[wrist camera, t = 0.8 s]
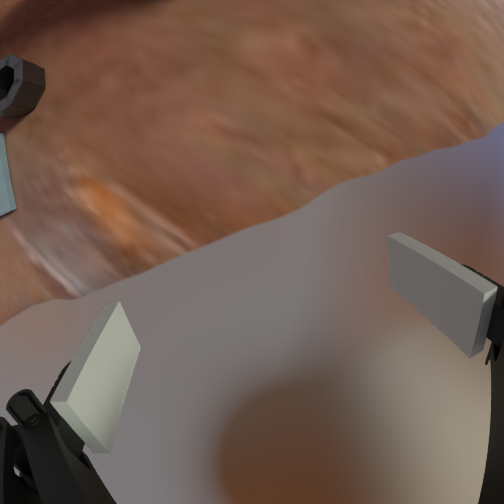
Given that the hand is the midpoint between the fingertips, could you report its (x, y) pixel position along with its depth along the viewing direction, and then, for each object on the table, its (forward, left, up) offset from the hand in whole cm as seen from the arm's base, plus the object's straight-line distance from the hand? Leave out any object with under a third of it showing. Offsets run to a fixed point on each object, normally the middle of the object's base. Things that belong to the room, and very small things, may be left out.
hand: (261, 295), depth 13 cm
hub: (-25, -26, -25) cm, 44 cm away
